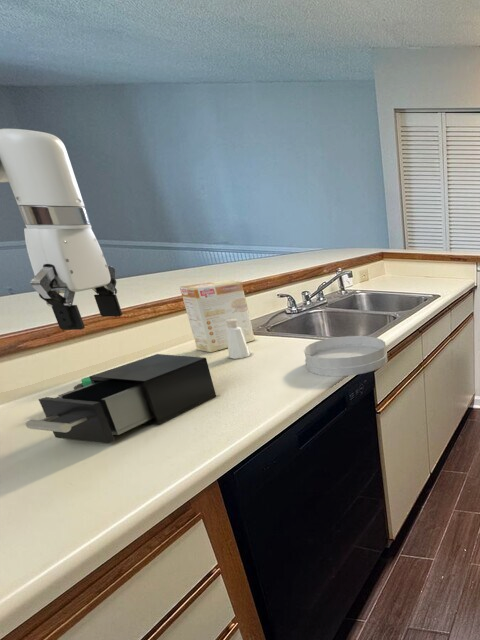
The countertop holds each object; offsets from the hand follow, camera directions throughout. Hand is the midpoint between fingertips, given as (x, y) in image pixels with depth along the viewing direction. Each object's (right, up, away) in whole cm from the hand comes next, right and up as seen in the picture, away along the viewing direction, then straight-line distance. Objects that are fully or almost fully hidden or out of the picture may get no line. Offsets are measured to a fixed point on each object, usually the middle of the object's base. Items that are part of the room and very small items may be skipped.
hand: (93, 322), depth 74 cm
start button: (-19, -11, +19) cm, 29 cm away
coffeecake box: (-18, +1, +61) cm, 63 cm away
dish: (+27, -5, +48) cm, 55 cm away
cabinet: (-2, -16, +18) cm, 24 cm away
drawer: (-4, -20, +7) cm, 21 cm away
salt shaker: (-7, -3, +51) cm, 52 cm away
